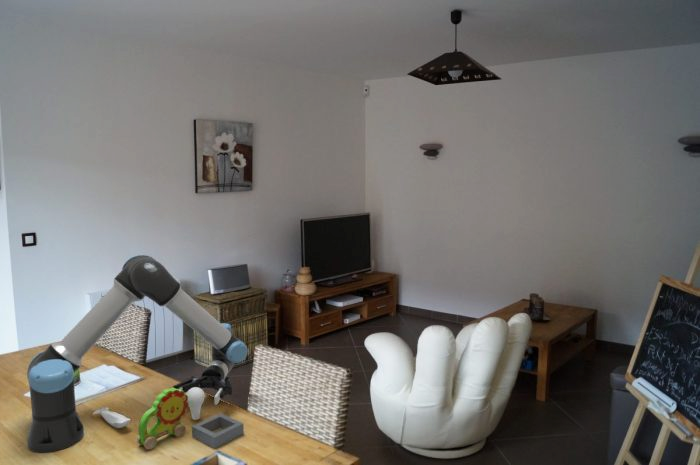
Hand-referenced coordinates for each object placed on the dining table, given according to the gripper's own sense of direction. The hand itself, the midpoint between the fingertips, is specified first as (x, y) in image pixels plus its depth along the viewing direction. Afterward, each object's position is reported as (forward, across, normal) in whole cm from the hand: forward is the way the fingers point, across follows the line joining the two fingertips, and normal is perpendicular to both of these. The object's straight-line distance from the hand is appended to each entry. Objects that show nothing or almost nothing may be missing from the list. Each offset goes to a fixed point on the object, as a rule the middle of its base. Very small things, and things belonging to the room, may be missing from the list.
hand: (194, 400), depth 174 cm
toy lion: (+11, +6, -8) cm, 15 cm away
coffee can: (-28, +60, -8) cm, 67 cm away
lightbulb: (-1, 0, -8) cm, 8 cm away
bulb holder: (+8, -10, -7) cm, 15 cm away
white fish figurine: (+2, +26, -8) cm, 27 cm away
